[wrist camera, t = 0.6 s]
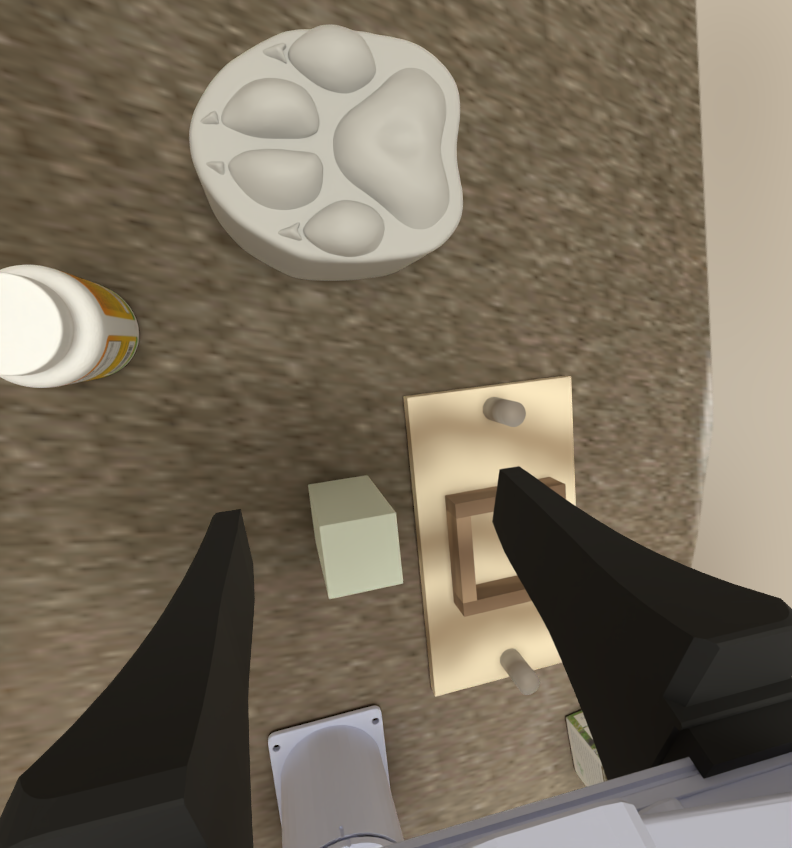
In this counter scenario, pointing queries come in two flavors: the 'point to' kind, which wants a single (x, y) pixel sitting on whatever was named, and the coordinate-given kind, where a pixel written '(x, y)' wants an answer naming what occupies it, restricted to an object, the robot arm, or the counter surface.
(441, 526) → the socket plate
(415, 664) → the counter surface
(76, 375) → the supplement bottle
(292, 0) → the counter surface
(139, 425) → the counter surface
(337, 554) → the sage peg
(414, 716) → the counter surface
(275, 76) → the lumpy-topped squat cylinder
